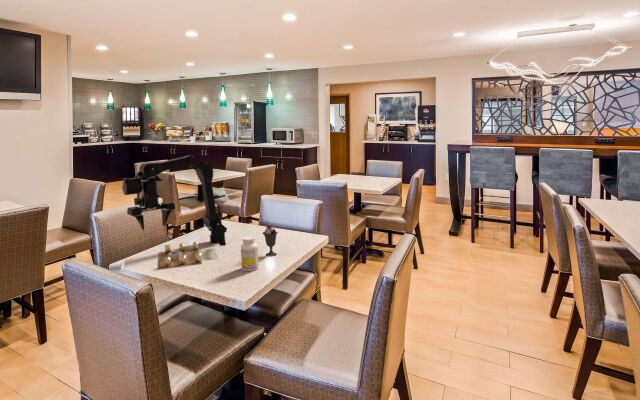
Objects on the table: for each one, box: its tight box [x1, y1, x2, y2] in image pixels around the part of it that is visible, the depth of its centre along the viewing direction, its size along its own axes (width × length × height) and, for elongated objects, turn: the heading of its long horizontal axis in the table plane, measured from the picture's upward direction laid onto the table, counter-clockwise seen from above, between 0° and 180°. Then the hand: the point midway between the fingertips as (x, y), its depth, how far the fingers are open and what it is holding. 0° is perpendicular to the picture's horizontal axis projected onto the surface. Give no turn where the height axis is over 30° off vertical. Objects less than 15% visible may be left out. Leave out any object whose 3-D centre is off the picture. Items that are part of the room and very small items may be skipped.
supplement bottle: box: [240, 235, 260, 272], centre depth 160 cm, size 7×7×13 cm
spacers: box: [164, 241, 203, 267], centre depth 173 cm, size 14×20×4 cm
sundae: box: [262, 221, 279, 257], centre depth 177 cm, size 7×7×15 cm
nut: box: [168, 250, 182, 261], centre depth 172 cm, size 6×5×3 cm
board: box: [157, 247, 219, 271], centre depth 174 cm, size 24×24×1 cm
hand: (153, 227), depth 174 cm, fingers open, 9 cm apart
